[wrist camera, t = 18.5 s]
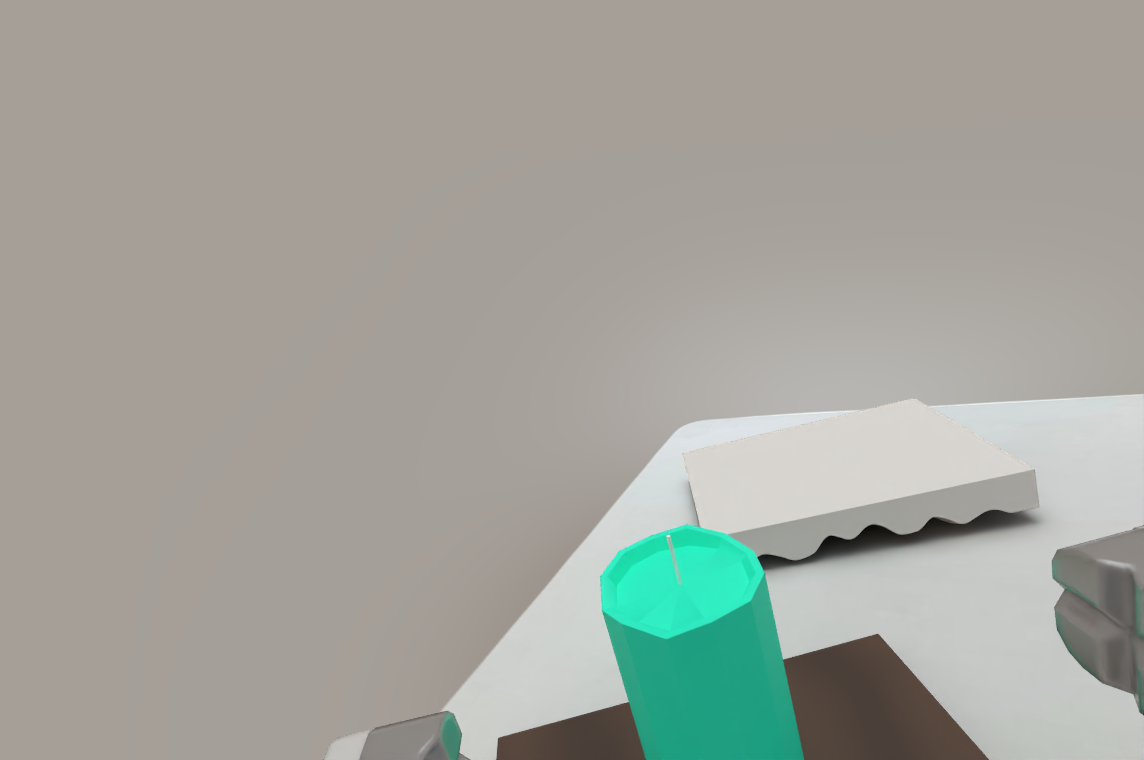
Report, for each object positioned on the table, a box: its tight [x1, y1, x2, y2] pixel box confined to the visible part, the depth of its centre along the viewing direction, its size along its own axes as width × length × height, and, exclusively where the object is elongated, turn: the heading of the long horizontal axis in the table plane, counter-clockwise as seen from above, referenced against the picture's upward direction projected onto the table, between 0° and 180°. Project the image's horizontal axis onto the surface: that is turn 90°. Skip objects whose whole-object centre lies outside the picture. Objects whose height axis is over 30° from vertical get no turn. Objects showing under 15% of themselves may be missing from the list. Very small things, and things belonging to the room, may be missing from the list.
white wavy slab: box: [682, 398, 1039, 560], centre depth 44 cm, size 15×3×20 cm
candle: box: [600, 524, 804, 760], centre depth 22 cm, size 6×6×12 cm
